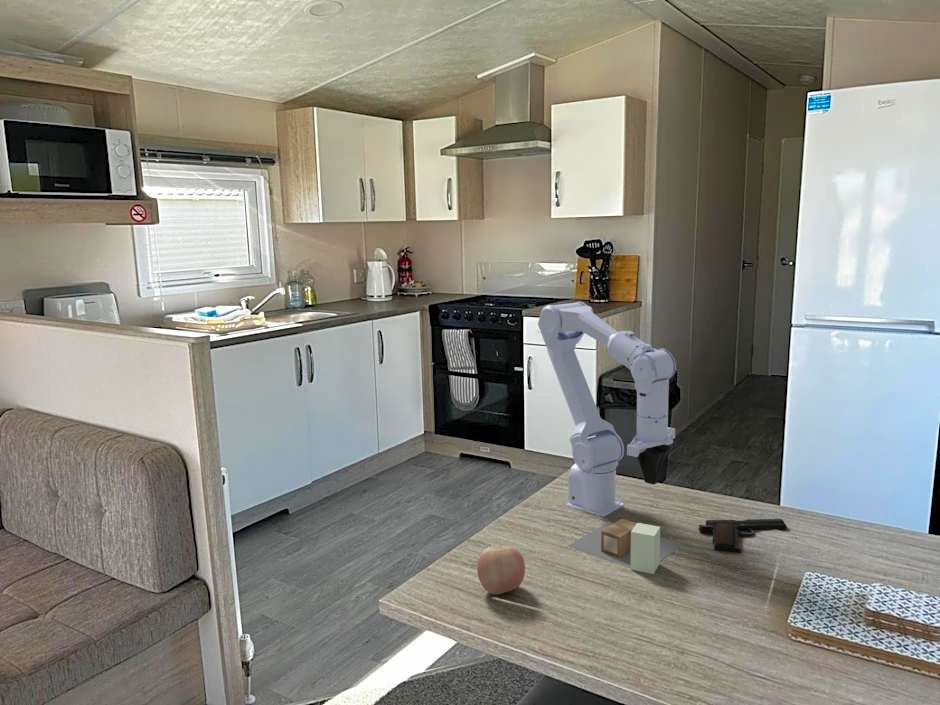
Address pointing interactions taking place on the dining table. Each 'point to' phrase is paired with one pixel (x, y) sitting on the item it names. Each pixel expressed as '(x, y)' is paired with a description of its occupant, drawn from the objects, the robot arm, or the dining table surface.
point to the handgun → (736, 531)
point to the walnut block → (617, 538)
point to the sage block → (645, 548)
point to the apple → (500, 569)
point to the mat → (593, 546)
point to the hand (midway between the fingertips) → (651, 482)
